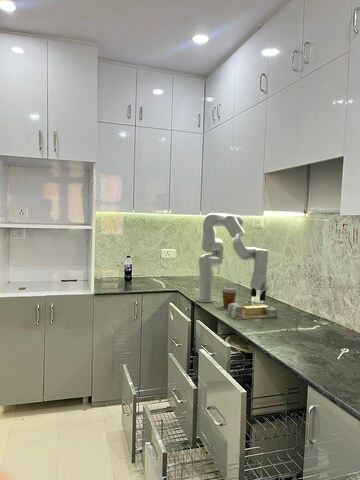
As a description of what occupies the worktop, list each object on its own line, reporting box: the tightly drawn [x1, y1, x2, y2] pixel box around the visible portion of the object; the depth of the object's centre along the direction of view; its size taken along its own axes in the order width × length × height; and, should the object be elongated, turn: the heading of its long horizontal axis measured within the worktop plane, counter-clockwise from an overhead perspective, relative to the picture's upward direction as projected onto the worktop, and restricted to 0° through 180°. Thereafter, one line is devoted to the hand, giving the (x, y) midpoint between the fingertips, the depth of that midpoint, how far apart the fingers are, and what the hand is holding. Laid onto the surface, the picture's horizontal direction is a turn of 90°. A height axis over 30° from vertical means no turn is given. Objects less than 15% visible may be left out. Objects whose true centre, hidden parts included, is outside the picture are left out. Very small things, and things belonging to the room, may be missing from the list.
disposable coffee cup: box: [221, 286, 238, 309], centre depth 234 cm, size 10×10×12 cm
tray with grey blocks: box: [225, 302, 278, 321], centre depth 216 cm, size 14×26×7 cm, turn 109°
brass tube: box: [242, 304, 269, 315], centre depth 217 cm, size 4×15×4 cm, turn 109°
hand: (257, 298), depth 218 cm, fingers open, 9 cm apart
